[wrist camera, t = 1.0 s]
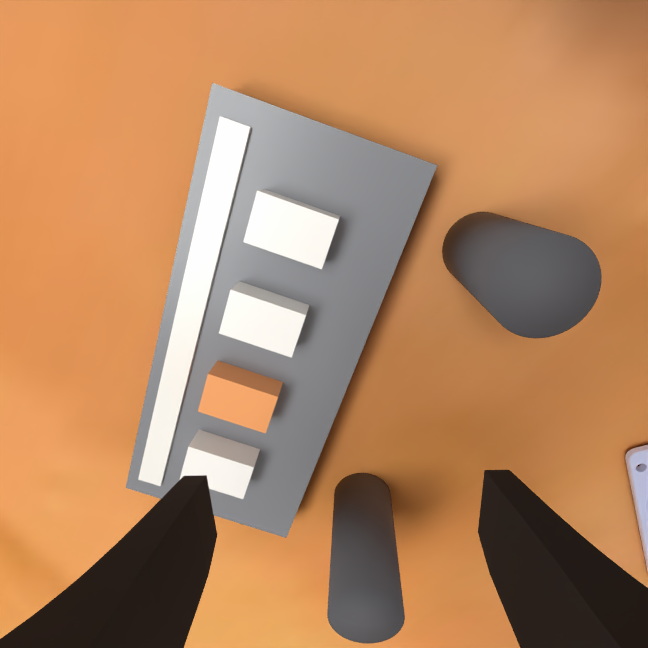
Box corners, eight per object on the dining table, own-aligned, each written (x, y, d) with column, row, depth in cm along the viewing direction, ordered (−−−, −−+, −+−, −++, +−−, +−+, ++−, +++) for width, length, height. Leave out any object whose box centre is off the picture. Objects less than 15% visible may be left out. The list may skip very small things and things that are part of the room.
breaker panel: (227, 92, 18) (199, 74, 14) (428, 166, 18) (444, 164, 15) (143, 463, 24) (111, 507, 21) (291, 510, 25) (282, 560, 22)
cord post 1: (397, 510, 24) (414, 635, 18) (345, 523, 25) (343, 649, 18) (380, 467, 23) (390, 581, 17) (326, 481, 24) (316, 598, 17)
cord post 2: (522, 268, 19) (609, 318, 13) (453, 292, 20) (503, 351, 13) (505, 200, 18) (590, 216, 12) (433, 227, 19) (476, 256, 12)
